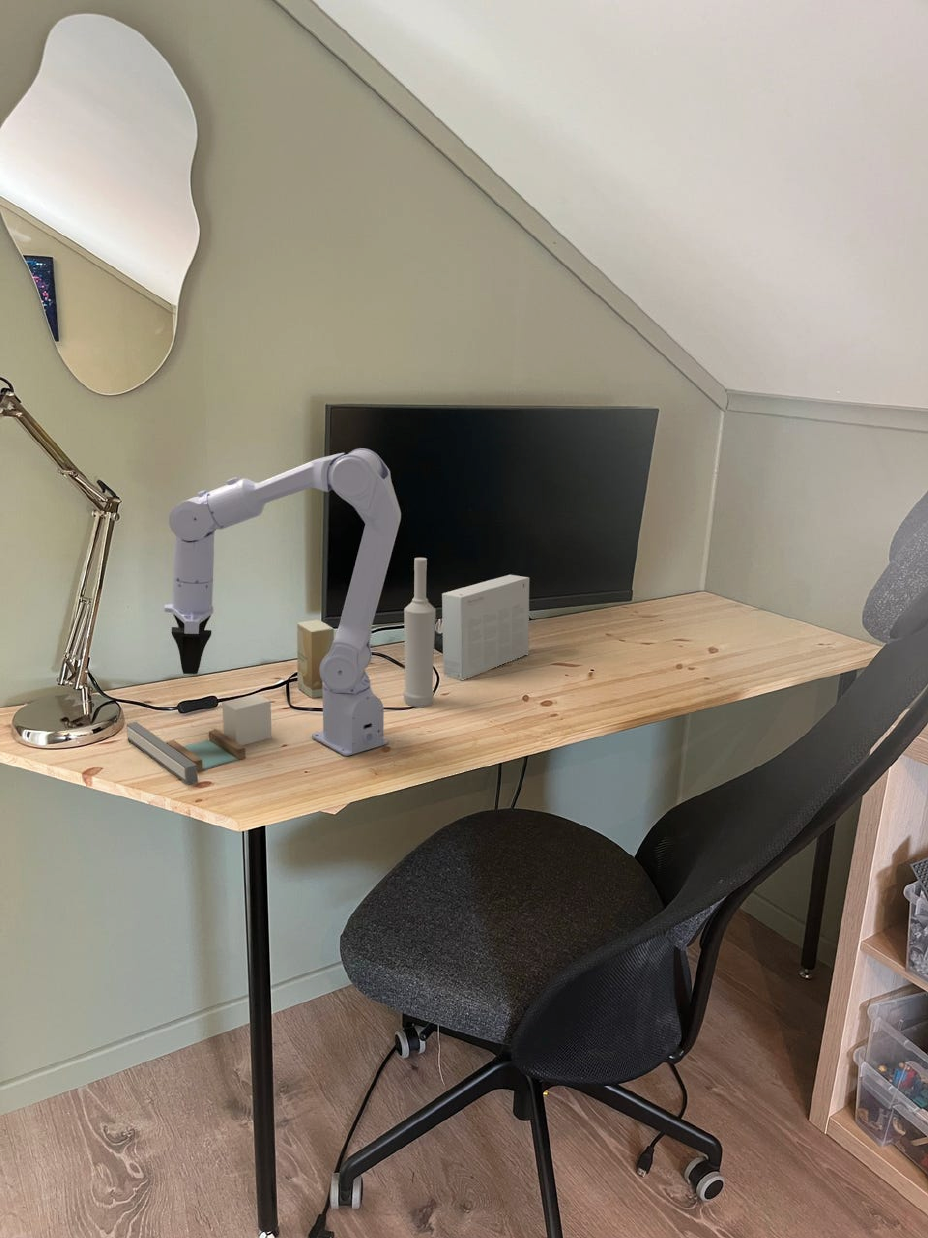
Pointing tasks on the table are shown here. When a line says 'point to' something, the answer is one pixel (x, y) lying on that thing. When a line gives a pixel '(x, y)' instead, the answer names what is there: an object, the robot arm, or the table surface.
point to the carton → (247, 719)
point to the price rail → (162, 753)
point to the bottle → (419, 642)
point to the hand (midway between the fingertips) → (190, 664)
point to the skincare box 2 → (485, 625)
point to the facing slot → (211, 751)
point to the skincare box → (312, 654)
